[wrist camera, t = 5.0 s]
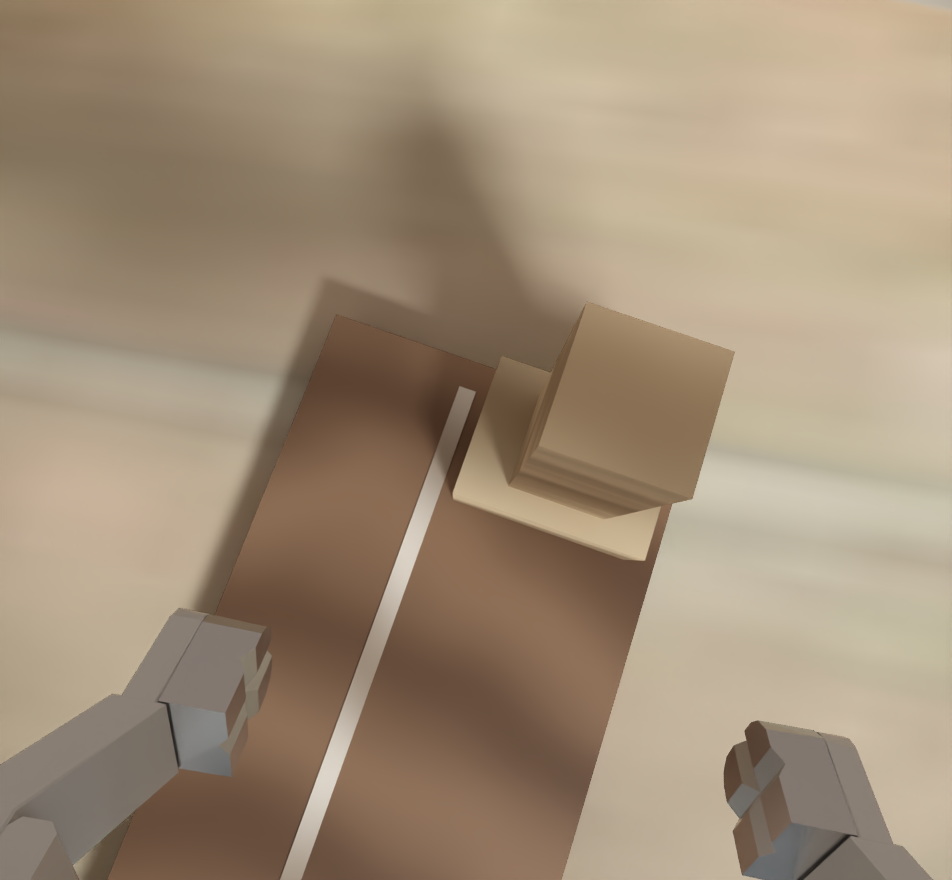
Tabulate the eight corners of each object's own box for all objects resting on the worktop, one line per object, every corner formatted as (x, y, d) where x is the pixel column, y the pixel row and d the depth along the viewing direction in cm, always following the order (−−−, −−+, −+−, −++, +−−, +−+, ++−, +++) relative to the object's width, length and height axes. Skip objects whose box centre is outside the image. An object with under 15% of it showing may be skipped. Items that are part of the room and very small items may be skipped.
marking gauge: (623, 559, 22) (759, 565, 12) (452, 500, 22) (449, 456, 12) (662, 433, 23) (818, 341, 13) (496, 376, 23) (525, 243, 13)
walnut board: (480, 1105, 20) (482, 1150, 19) (91, 957, 21) (62, 989, 19) (677, 443, 24) (692, 436, 23) (343, 328, 25) (336, 313, 23)
